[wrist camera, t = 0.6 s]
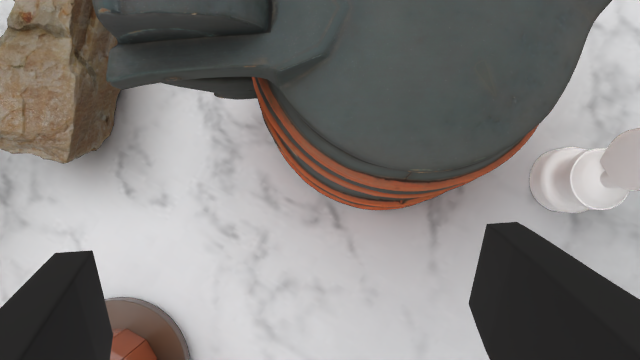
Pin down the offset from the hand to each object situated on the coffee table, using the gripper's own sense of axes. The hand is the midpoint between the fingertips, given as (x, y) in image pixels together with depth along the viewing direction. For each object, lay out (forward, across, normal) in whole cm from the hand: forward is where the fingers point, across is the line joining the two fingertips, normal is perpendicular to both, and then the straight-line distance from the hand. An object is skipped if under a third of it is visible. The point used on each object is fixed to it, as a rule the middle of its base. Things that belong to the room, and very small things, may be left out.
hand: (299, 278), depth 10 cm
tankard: (+25, -6, +7) cm, 26 cm away
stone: (+29, +11, +5) cm, 31 cm away
